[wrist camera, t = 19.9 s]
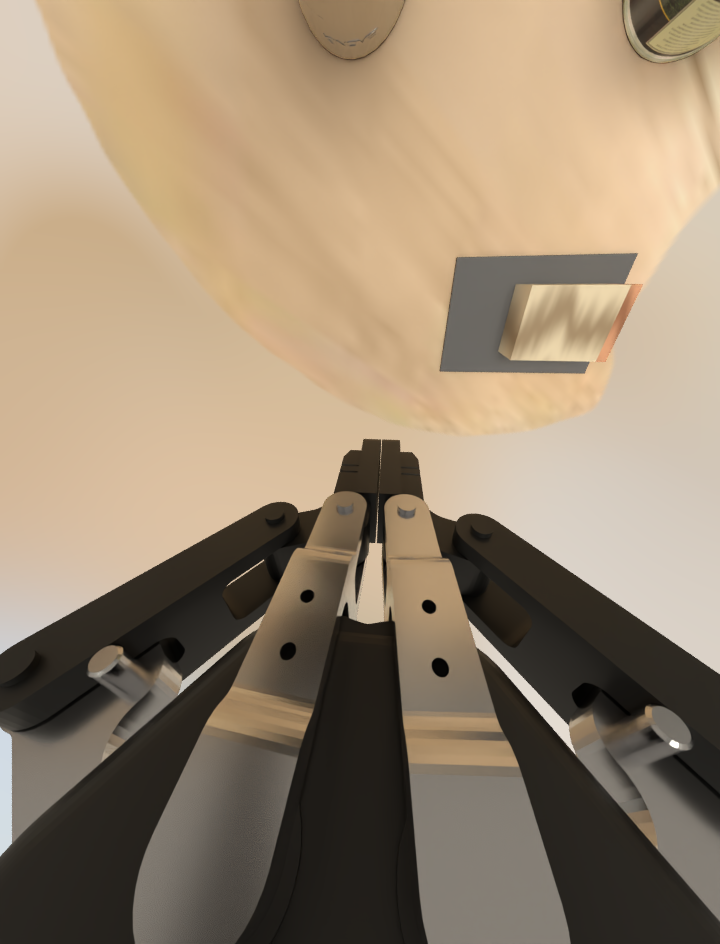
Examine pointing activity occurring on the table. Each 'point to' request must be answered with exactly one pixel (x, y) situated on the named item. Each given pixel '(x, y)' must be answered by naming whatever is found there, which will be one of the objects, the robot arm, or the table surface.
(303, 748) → the robot arm
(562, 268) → the mat
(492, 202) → the table surface
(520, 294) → the block
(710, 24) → the coffee can
